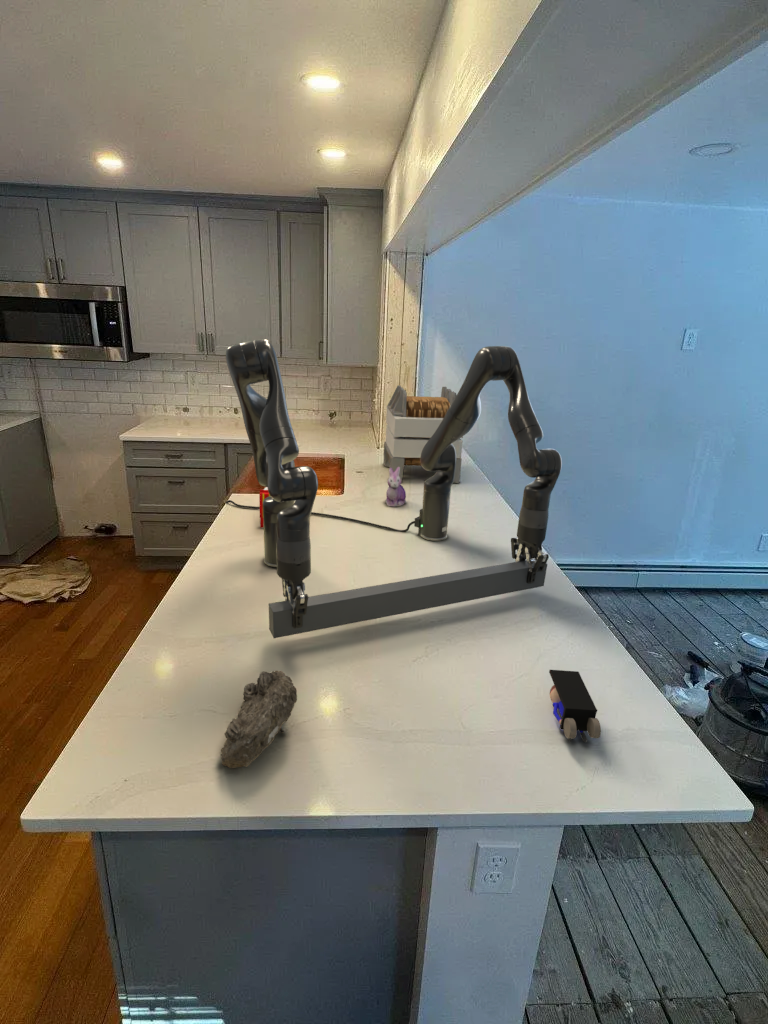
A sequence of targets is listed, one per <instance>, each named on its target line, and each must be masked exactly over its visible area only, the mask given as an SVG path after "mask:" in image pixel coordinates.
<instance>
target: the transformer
mask: <svg viewBox="0 0 768 1024" xmlns="http://www.w3.org/2000/svg"><path fill="white" fill-rule="evenodd" d="M440 393H441V394H440V396H415V395H414V396H413V395H412V396H411V395H407V394H408V393H407V390H406V389H404V388H403V387H402V385H399V384H398V385H397V386H396V388H395V390H394V392H393V394H392V395H391V398H390V400H389V402H388V404H387V405H386V413H385V414H386V415H385V423H386V428H385V438H384V442H383V466H384V467H388V468H390V467H391V468H392V469H393V471H394V472H395V470H396V469H397V468H398V467H400V472H399V477H400V480H401V483H402V482H403V475H404V469H405V466H406V467H407V466H411V467H412V466H413V467H415V466H416V467H417V466H418V467H422V466H421V462H420V457H421V452H422V450H423V447H424V446H425V444H426V443H427V442H428V440H429V439H430V438H431V437H432V435H433V434H434V433H435V431H436V430H437V428H438V426H439V425H440V423H441V422H442V420H443V418H444V416H445V415H446V413H447V411H448V409H449V407H450V405H451V404H452V402H453V401H454V399H455V397H456V396H457V392H455V391H453V390H452V389H451V388H447V386H442V387H441V392H440ZM463 438H464V436H463V437H461V438H460V439H458V440H457V441H455V442H453V443H452V445H453V446H454V448H455V451H456V465H455V472H454V479H453V484H455V483H456V484H459V483H461V472H462V461H463V460H462V453H463V442H464V441H463V440H462V439H463ZM388 476H390V475H388Z"/></svg>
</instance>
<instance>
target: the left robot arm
mask: <svg viewBox="0 0 768 1024" xmlns="http://www.w3.org/2000/svg"><path fill="white" fill-rule="evenodd" d="M225 361H226V366H227V369H228V371H229V376H230V379H231V381H232V384H233V387H234V389H235V393H236V395H237V398H238V402H239V405H240V410H241V414H242V420H243V424H244V428H245V431H246V434H247V438H248V441H249V444H250V449H251V451H252V457H253V462H254V469H255V476H256V479H257V482H258V484H259V485H260V486H261V487H264V488H266V487H268V492H269V494H270V496H269V497H267V498H265V499H264V501H263V525H264V528H263V554H264V555H263V563H264V564H265V565H266V566H268V567H272V568H276V574H277V576H278V577H279V578H280V579H281V584H282V596H283V597H284V601H287V600H289V604H291V606H292V626H293V628H300V627H302V626H303V615H306V611H307V603H308V597H309V595H308V593H305V591H306V585H305V582H304V580H305V579H307V578H308V577H309V576H310V575H311V573H312V543H311V536H310V533H311V529H310V526H311V525H310V524H311V523H310V522H311V515H312V514H311V512H313V507H314V503H315V502H316V501H315V500H316V497H317V494H318V489H319V479H318V475H317V473H316V471H315V470H314V469H313V468H312V467H311V466H307V465H301V466H296V463H295V460H296V459H297V458H298V457H299V453H300V448H299V445H298V442H297V441H298V440H297V438H296V435H295V432H294V429H293V426H292V423H291V419H290V415H289V411H288V404H287V399H286V393H285V389H284V382H283V378H282V374H281V370H280V366H279V365H280V364H279V360H278V356H277V353H276V351H275V348H274V346H273V344H272V342H271V341H270V340H269V339H267V338H261V339H254V340H249V341H244V342H240V343H235V344H233V345H230V346H228V347H227V348H226V351H225ZM263 382H268V393H267V398H266V397H265V396H263V395H262V394H260V393H259V392H257V391H256V390H255V389H254V388H253V387H252V386H251V385H255V384H258V383H263ZM294 500H296V501H295V502H294ZM293 599H295V600H293Z"/></svg>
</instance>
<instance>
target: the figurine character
mask: <svg viewBox="0 0 768 1024" xmlns="http://www.w3.org/2000/svg"><path fill="white" fill-rule="evenodd" d="M548 673H549V675H550V678H551V680H552V682H553V685H552V686H551V688H550V690H549V699H550V701H551V702H552V706H553V711H552V714H553V715H554V717H555V719H556V720H557V722H558V724H559V725H560V726H559V728H560V731H561V730H562V731H563V733H564V736H565V738H566V739H567V741H569V742H570V743H572V742H573V739H576V737H577V732H578V733H579V735H580V737H581V739H582V742H584V743H588V738H587V736H586V733H585V732H587V735H588V737H589V738H591V739H600V738H601V733H602V727H601V723H600V720H599V719H598V718H597V717H596V716H597V714H598V713H597V712H598V709H597V707H596V705H595V703H594V700H593V699H592V696H591V694H590V692H589V690H588V689H587V686H586V684H585V681H583V678H582V676H581V674H580V672H579V671H577V670H562V669H561V670H560V669H549V671H548ZM558 711H559V714H560V715H559V714H558Z"/></svg>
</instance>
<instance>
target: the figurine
mask: <svg viewBox="0 0 768 1024" xmlns="http://www.w3.org/2000/svg"><path fill="white" fill-rule="evenodd" d="M388 472H389V475H390V476H389V475H388V476H389V477H388V479H387V486H388V487H387V489H386V494H385V496H386V499H385V504H386V506H388V507H400V506H403V505H405V502H406V498H407V493H406V490H405V488H404V487H403V485H401V484H402V482H401V480H400V477H399V472H400V467H398V468H397V469H396V470H395V472H394V471H393V469H392V468H391V467H388Z"/></svg>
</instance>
